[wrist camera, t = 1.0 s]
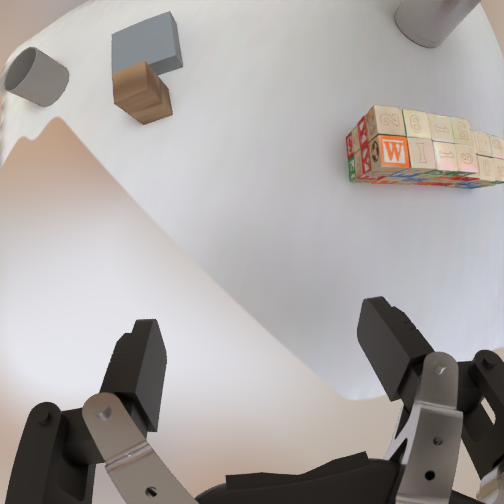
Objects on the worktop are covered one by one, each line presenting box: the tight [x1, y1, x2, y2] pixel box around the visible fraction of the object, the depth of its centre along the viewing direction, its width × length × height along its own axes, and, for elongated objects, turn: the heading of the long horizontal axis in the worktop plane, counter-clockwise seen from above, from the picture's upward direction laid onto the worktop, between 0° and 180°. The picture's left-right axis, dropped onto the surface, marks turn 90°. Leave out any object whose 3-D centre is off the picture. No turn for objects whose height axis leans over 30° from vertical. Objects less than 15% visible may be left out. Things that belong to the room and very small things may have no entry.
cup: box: [4, 47, 69, 107], centre depth 32 cm, size 8×8×10 cm
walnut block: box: [112, 61, 173, 125], centre depth 32 cm, size 4×4×9 cm
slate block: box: [112, 11, 183, 80], centre depth 34 cm, size 10×10×4 cm
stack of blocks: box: [346, 105, 504, 189], centre depth 29 cm, size 21×6×12 cm, turn 92°
